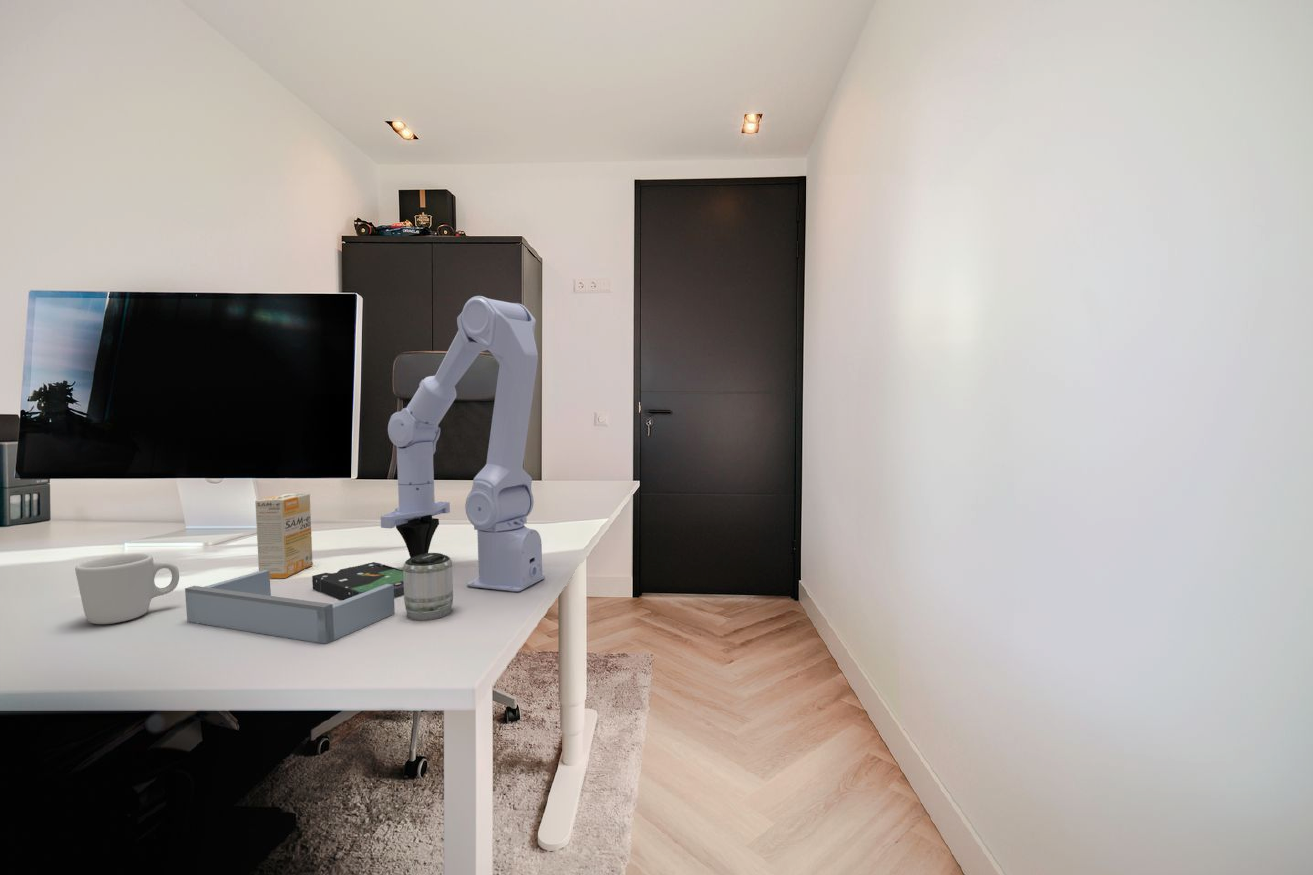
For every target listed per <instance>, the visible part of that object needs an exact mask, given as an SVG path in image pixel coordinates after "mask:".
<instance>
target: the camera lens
mask: <svg viewBox="0 0 1313 875" xmlns="http://www.w3.org/2000/svg"><path fill="white" fill-rule="evenodd" d="M402 570H403V579H404V595H403V596H404V597H403V599H404V600H403V603H404V607H405V611H406V613H407V617H408V618H409V619H411V620H416V621H428V620H435V619H439V618H443V617H445V616H447V615H449V614H450V613H451V612H452V606H453V604H454V603H453V602H454V601H453V600H454V584H453V583H454V581H453V580H454V578H453V560H452V559H451V558H450V556H448V555H446V554H443V553H440V552H428V553H425V554H424V555H423V554H420V555H417V556H414V557H412V558H408V559H406V561H404V563H403V565H402Z"/></svg>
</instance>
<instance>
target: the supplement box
mask: <svg viewBox="0 0 1313 875" xmlns="http://www.w3.org/2000/svg"><path fill="white" fill-rule="evenodd" d="M311 517H312V515H311V493H308V492H307V493H305V492H304V493H303V492H300V493H299V492H297V493H296V492H295V493H294V492H293V493H284V494H280V495H275V496H271V497H267V498H263V499H256V500H255V519H256V539H257V559H258V571H262V570H268V571H270V579H286V578H288V577H290V576H292V575H295V574H297V573H298V572H301V571H302V570H305V569H307V568H310V567H312V566H313V549H312V548H313V542H312V541H313V540H312V539H313V537H312V521H311V519H312V518H311Z"/></svg>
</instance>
